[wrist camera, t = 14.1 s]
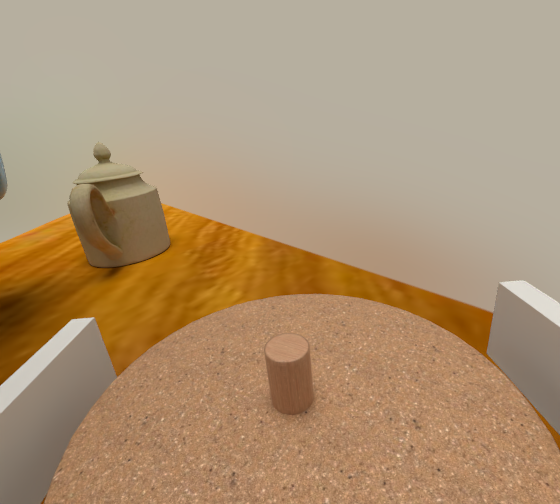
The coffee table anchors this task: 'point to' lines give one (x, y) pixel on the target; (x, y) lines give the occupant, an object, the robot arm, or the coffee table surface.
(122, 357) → the coffee table surface
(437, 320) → the coffee table surface
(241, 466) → the lidded jar
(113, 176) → the beige teapot
